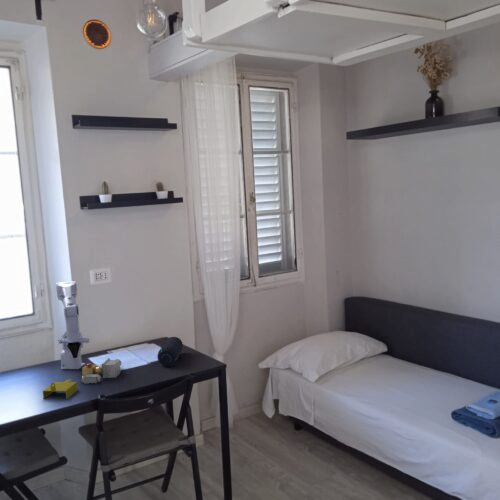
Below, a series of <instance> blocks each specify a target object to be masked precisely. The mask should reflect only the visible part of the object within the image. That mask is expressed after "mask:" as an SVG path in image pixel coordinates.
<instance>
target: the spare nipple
mask: <svg viewBox="0 0 500 500" xmlns="http://www.w3.org/2000/svg"><path fill="white" fill-rule="evenodd" d="M101 381H102V374H86V375H85V376H83V375H82V376H81V383H83V384H84V385H86V384H87V385H90V384H89V383H92V384H93V383H95V384H98V383H101Z"/></svg>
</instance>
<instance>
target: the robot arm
mask: <svg viewBox="0 0 500 500" xmlns="http://www.w3.org/2000/svg"><path fill="white" fill-rule="evenodd" d="M77 286H78V285H77V281H75V280H70V281H62V282H56V283H55V288H56V289H55V290H56V297H57V299H58V300H59V301H61V303H62V305H63V316H64V320H65V327H66V328H65V329H66V331H65V332H64V333H62V336H61V338H59V339H58V344H59V345H62V350H61V352H60V365H61V367H60V369H61V370H79V369H82V368H83V367H84V366H85V365H86V363H85V362H83V361H82V352H81V350H82V348H83V347H84V344H89V343H90V338H89V337H83V335H82V332H81V331H80V322H79V317H80V311H79V310H80V309H79V305H78V303H77V301H76V299H77V295H78V293H77V291H78V289H77Z"/></svg>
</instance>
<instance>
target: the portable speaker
mask: <svg viewBox="0 0 500 500" xmlns="http://www.w3.org/2000/svg"><path fill="white" fill-rule="evenodd" d="M183 346H184V345H183V341H182V339H181V338H179V337H177V336H170V337H169V338H166V340H165V341H164V343H163V344H162V345H161V347H160V349H158V350H159V351H158V353H157V361H158V362H159V364H160V365H162V366H164V367H171V366H173V365H174V364H176V362H177V360H178V359H179V356H180V354H181V353H182V351H183Z"/></svg>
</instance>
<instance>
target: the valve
mask: <svg viewBox="0 0 500 500" xmlns="http://www.w3.org/2000/svg"><path fill="white" fill-rule="evenodd" d="M81 371H82V376H85V375H86V374H99V375H102V366H97V364H93V362H88V363H85V364H84V365H83V366H82V367H81Z"/></svg>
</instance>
